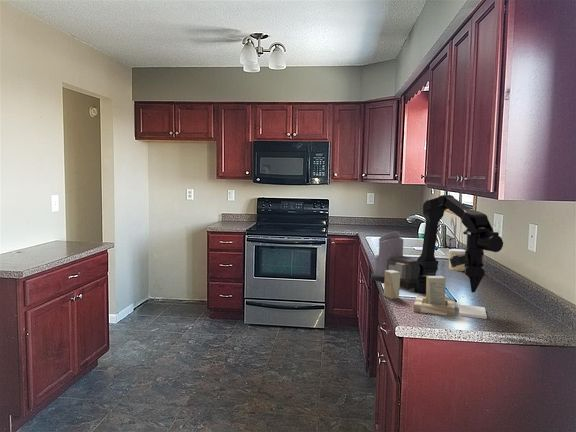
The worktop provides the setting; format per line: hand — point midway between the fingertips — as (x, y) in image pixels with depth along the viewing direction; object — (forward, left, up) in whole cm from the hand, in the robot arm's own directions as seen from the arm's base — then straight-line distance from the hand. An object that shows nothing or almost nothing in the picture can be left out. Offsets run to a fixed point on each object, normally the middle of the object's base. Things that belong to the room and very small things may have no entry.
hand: (472, 290), depth 162 cm
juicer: (-39, -32, -8) cm, 51 cm away
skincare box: (0, -13, -8) cm, 15 cm away
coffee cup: (-80, -5, -8) cm, 81 cm away
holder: (0, -13, -8) cm, 15 cm away
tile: (0, 0, -8) cm, 8 cm away
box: (-10, -30, -8) cm, 33 cm away
